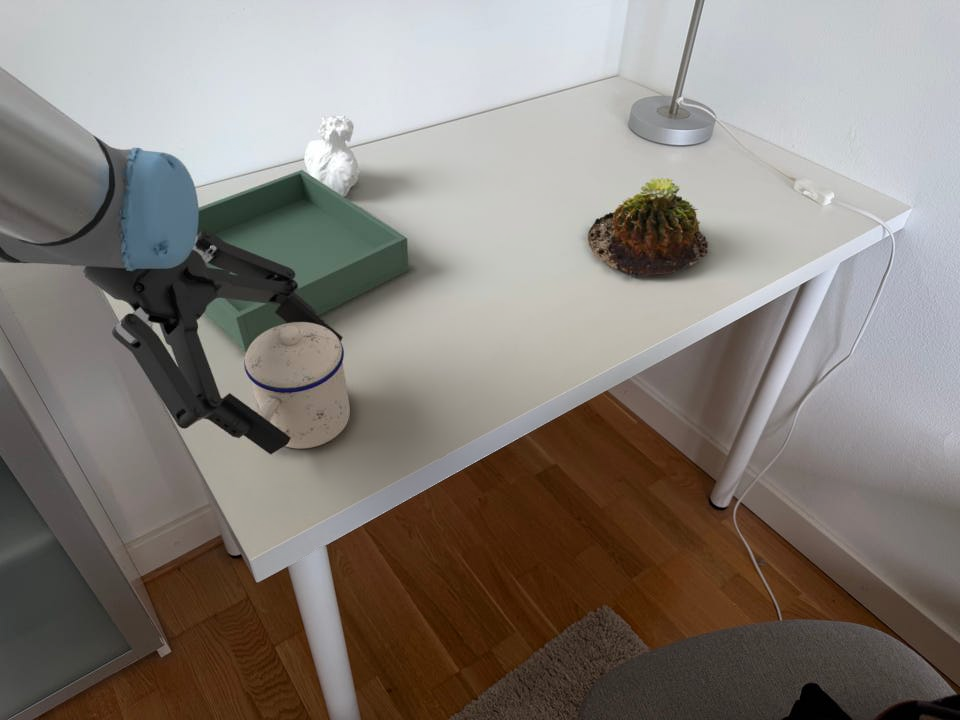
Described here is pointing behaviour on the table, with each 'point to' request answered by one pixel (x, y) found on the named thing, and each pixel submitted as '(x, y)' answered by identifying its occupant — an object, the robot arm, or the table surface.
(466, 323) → the table surface
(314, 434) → the teacup with lid
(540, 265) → the table surface
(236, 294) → the robot arm
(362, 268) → the tray
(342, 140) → the bust
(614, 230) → the cactus
